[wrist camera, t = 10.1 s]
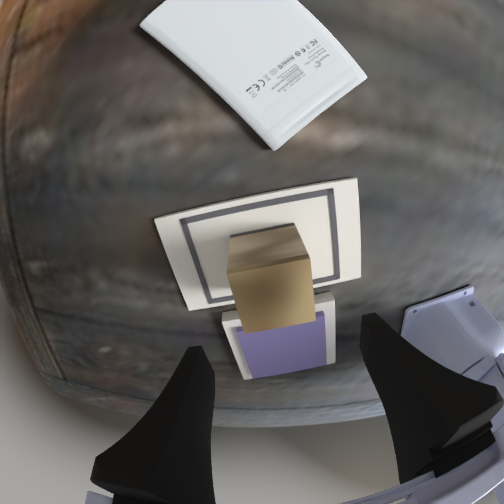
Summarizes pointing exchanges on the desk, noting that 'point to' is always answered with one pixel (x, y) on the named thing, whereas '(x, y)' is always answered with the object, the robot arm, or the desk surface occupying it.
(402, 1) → the desk surface
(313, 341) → the ink pad
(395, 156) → the desk surface
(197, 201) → the desk surface
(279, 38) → the external hard drive
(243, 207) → the print card
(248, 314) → the stamp
